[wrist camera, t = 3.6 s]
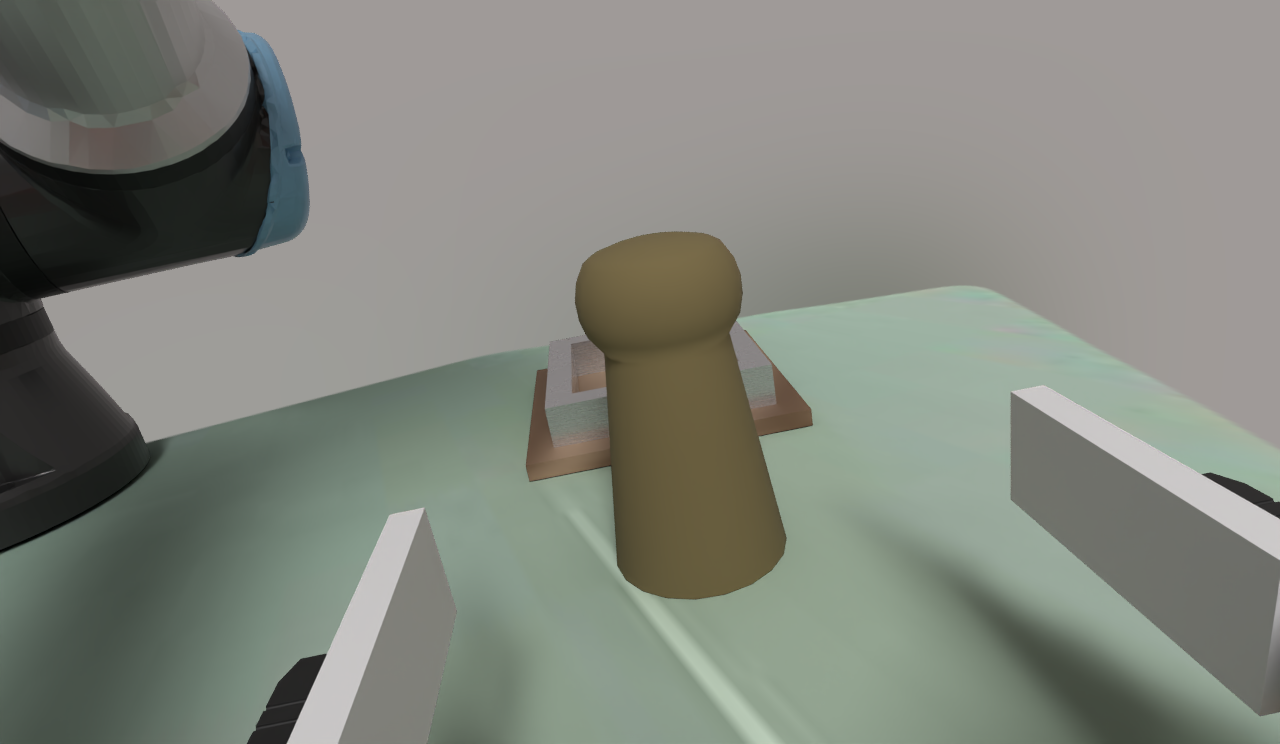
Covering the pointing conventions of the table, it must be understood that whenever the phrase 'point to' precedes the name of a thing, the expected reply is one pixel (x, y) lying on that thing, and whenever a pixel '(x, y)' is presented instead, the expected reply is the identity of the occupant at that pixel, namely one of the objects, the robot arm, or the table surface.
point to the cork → (679, 417)
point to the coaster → (578, 412)
